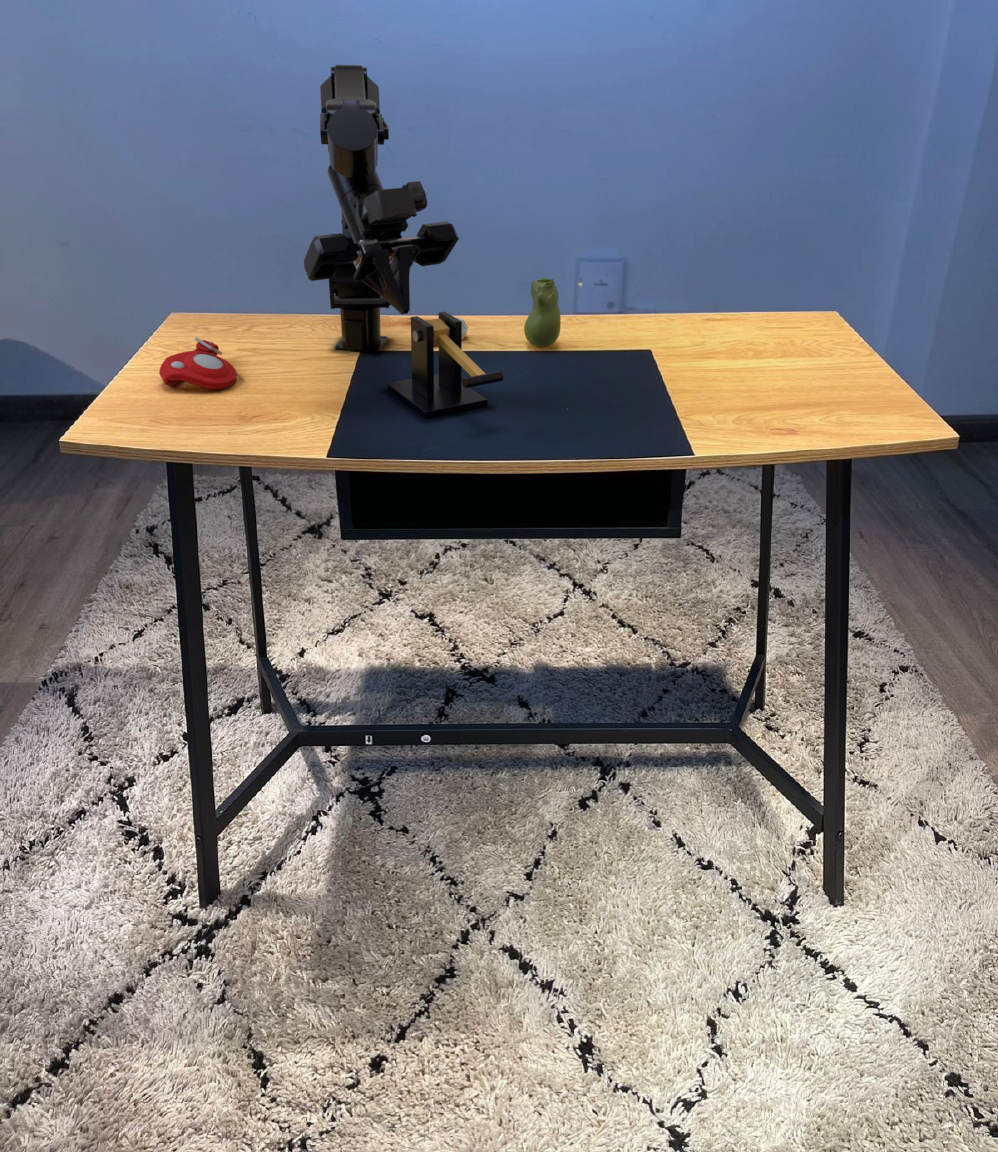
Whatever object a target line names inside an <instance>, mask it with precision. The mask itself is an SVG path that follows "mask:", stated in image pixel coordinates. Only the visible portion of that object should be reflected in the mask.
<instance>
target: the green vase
mask: <svg viewBox="0 0 998 1152" xmlns="http://www.w3.org/2000/svg"><path fill="white" fill-rule="evenodd" d="M555 285H556V282H555V280H554V279H553V278H551V279H550V278H547V277H542V278H539V279H537V280H533V281H531V282H530V290H529V291H530V295H531V299H532V302H533V305H532V308H531V310H530V312H529V314H528V316H527V318H526V320H525V322H524V325H523V333H524V336H525V338H526V340H527V341H528V343H529V344H531V345H532V346H533V347H537V348H547V347H550V346H552V345H553V344H555V343H556V342H557V340H558V338H559V337H560V333H561V325H562V323H561V321H562V320H561V311H560V307H559V298H560V297H559V295H560V294H559V291H558V288H557V286H555Z"/></svg>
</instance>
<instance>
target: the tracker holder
mask: <svg viewBox="0 0 998 1152" xmlns="http://www.w3.org/2000/svg"><path fill="white" fill-rule="evenodd" d="M194 341H196V342H197V343H196V344H195V349H193V350H188V351H187V350H186V351H183V352H178V353H175V354H172V355H169V356H167V357H165V359H164V360H163V362H162V363H161V365H160V368H159V371H158V372H159V376H160V378H161V379H162V382H163V383H164V385H166V386H172V385H175V384H177V383H180V382H181V381H183V382H185V383H187V384H191V385H194V386H198V387H202V388H205V389H212V390H221V389H227V388H230V387H231V386H233V385H234V384H235V381H236V378H237V370H236V369H235V367H234V365H233V364H232V363H230V362H229V361H228V360H226V359H225V358H223V357H221V356H222V355H223V352H222V351H220V350H219V348H220V347H219V345H218V344H215V343H214V342H213V341H209V340H206V339H201V338H200V337H199V338H198V337H196V336H195V337H194ZM219 355H220V356H219Z"/></svg>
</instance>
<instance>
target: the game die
mask: <svg viewBox="0 0 998 1152" xmlns="http://www.w3.org/2000/svg"><path fill="white" fill-rule="evenodd" d="M456 318H457V319H459V320H460V321H462V341H463V340H464V338H465V337H466V335H467V332H468V330H469V326H468V325H467V323H466V321H465V320H464V319H462V318H460V317H456Z"/></svg>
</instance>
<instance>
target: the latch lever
mask: <svg viewBox="0 0 998 1152" xmlns="http://www.w3.org/2000/svg"><path fill="white" fill-rule="evenodd" d="M424 321H426V322H428V323H429V324H431V325H433V331H434V348H435V349H436V348H439V347H441V346H442V347H443V348H444V349H445V350H446V351H447V352H448V353H449V354H450V355H451V356H452V358H453V359H454V360H455V361H456V362H457V363H458V364H459V365H460V366H461V369H463V370H464V371H465V372H466V373H467V374H468V375H469V376H468V377H463V378H462V380H461V382H462V383H463V386H464V388H473V387H474V388H475V387H478V386H479V387H480V386H483V385H489V384H493V383H494V384H495V383H499V382H503V380H504V373H503V372H502V371H500V370H499V371H493V372H488V373H486V372H485V371H483V369H481V368H480V366H478V365H477V363H476V362H475V361H474V360H472V359H471V357H469V355H468V354H466V353H465V351H464V350H461V349H460V348H459V347H458V346H457V345H456V344H455V343H454V342H453V341H452V340H451V339H450V338H449V330H450V328H449V327H448V326H447V325H446V324H445V323H444V322H443V321H442V320H441V319H440V318H439V317H438V318H433V319H426V320H424Z"/></svg>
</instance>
